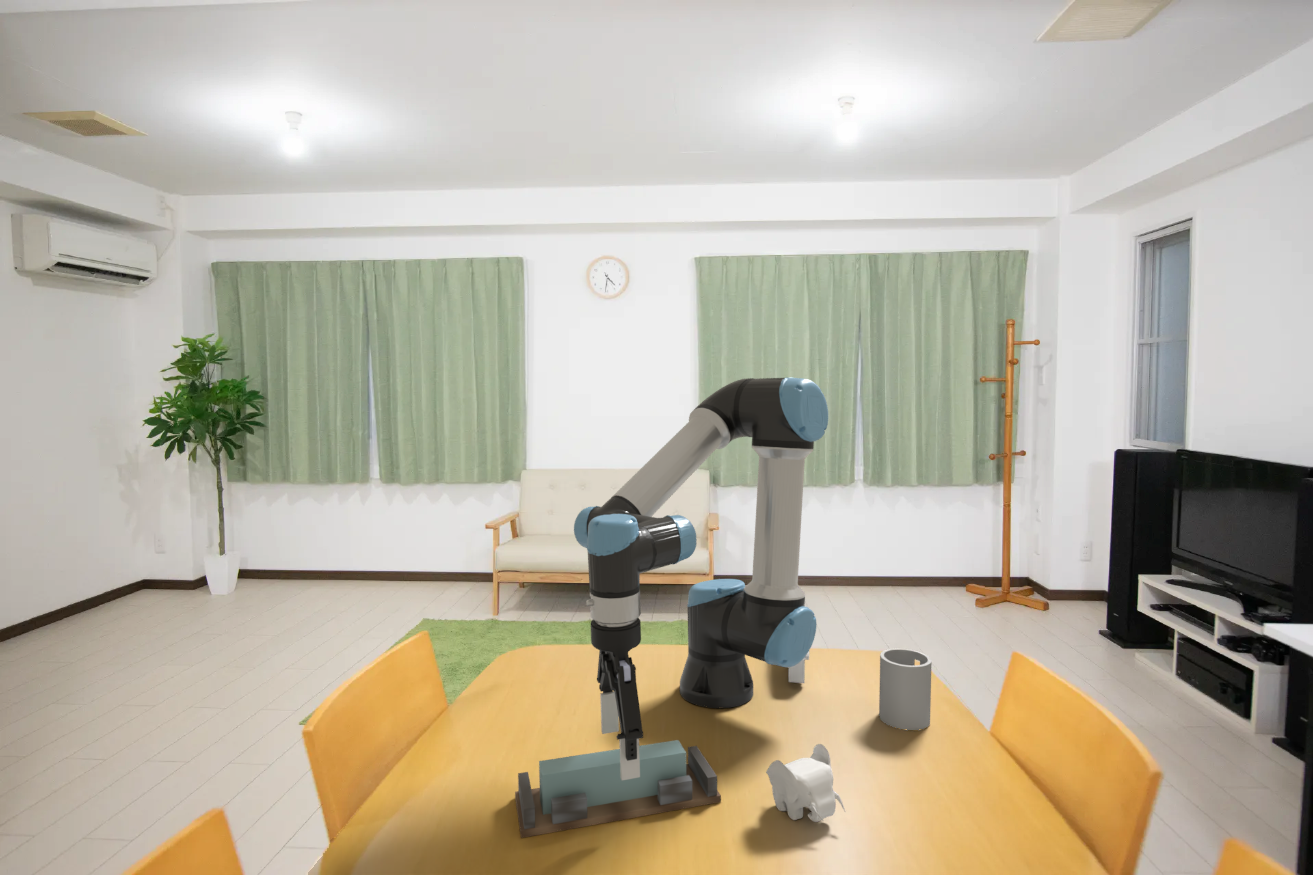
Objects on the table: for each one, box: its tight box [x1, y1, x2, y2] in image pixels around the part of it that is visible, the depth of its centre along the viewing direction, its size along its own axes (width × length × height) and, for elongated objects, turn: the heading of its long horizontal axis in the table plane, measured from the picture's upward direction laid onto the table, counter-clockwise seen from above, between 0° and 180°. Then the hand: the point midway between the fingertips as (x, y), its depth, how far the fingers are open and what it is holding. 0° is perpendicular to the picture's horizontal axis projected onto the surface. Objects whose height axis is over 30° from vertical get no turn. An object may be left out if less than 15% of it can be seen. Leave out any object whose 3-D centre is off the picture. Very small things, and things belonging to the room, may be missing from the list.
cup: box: [878, 647, 932, 731], centre depth 133 cm, size 9×9×12 cm
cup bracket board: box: [514, 745, 722, 839], centre depth 107 cm, size 30×10×4 cm, turn 106°
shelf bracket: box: [788, 650, 810, 684], centre depth 159 cm, size 6×25×13 cm, turn 169°
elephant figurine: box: [765, 743, 846, 823], centre depth 104 cm, size 10×12×9 cm
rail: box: [538, 739, 687, 815], centre depth 107 cm, size 22×4×6 cm, turn 106°
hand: (619, 753), depth 107 cm, fingers open, 13 cm apart
